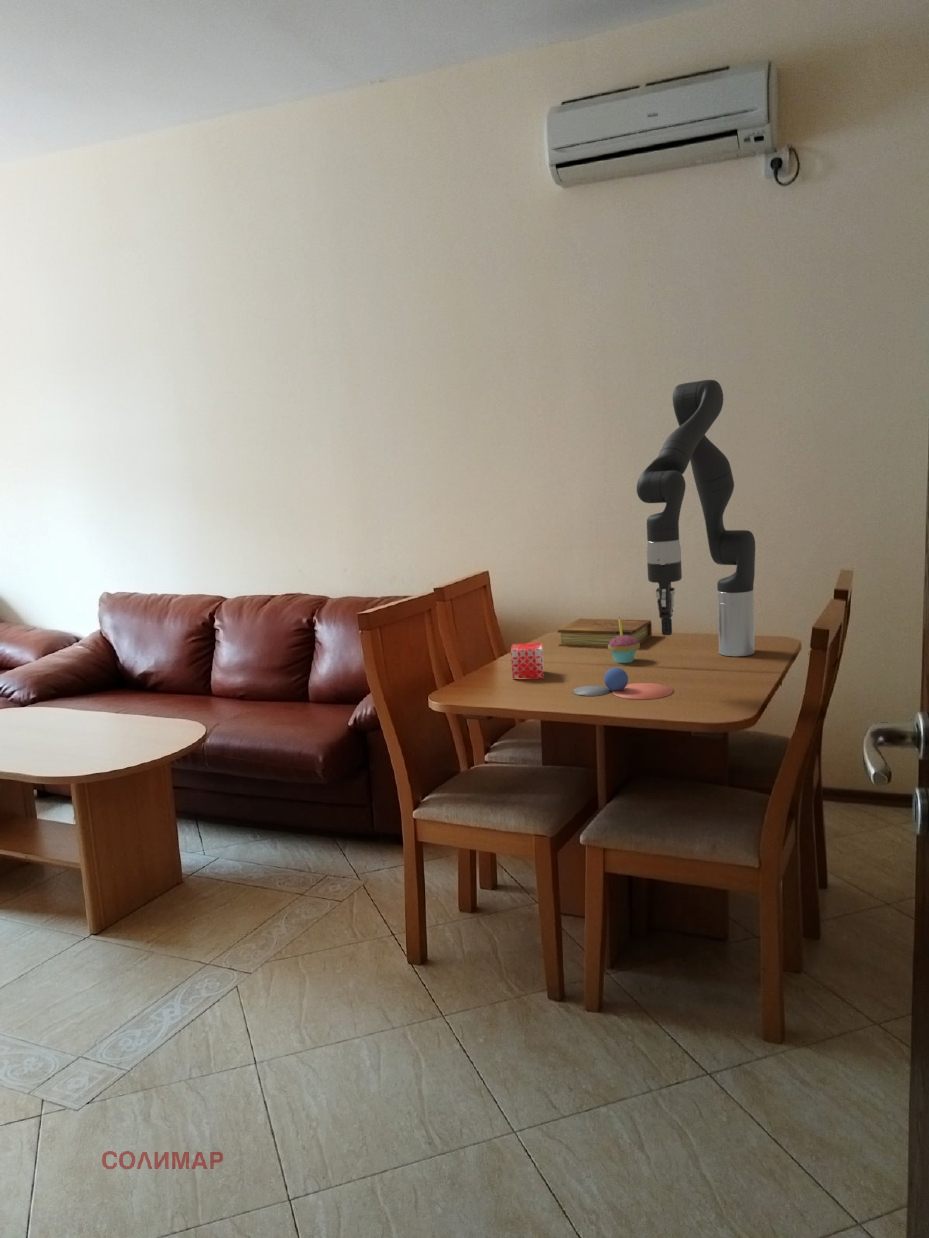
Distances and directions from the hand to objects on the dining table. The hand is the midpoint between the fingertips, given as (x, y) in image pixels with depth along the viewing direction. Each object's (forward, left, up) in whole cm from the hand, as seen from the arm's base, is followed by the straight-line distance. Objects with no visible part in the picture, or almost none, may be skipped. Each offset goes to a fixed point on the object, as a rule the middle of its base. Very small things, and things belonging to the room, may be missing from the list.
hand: (667, 634), depth 201 cm
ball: (0, -12, -11) cm, 16 cm away
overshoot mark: (0, -18, -14) cm, 23 cm away
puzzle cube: (-15, -37, -14) cm, 42 cm away
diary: (-58, -23, -14) cm, 64 cm away
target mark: (0, -6, -14) cm, 15 cm away
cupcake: (-31, -14, -14) cm, 37 cm away
